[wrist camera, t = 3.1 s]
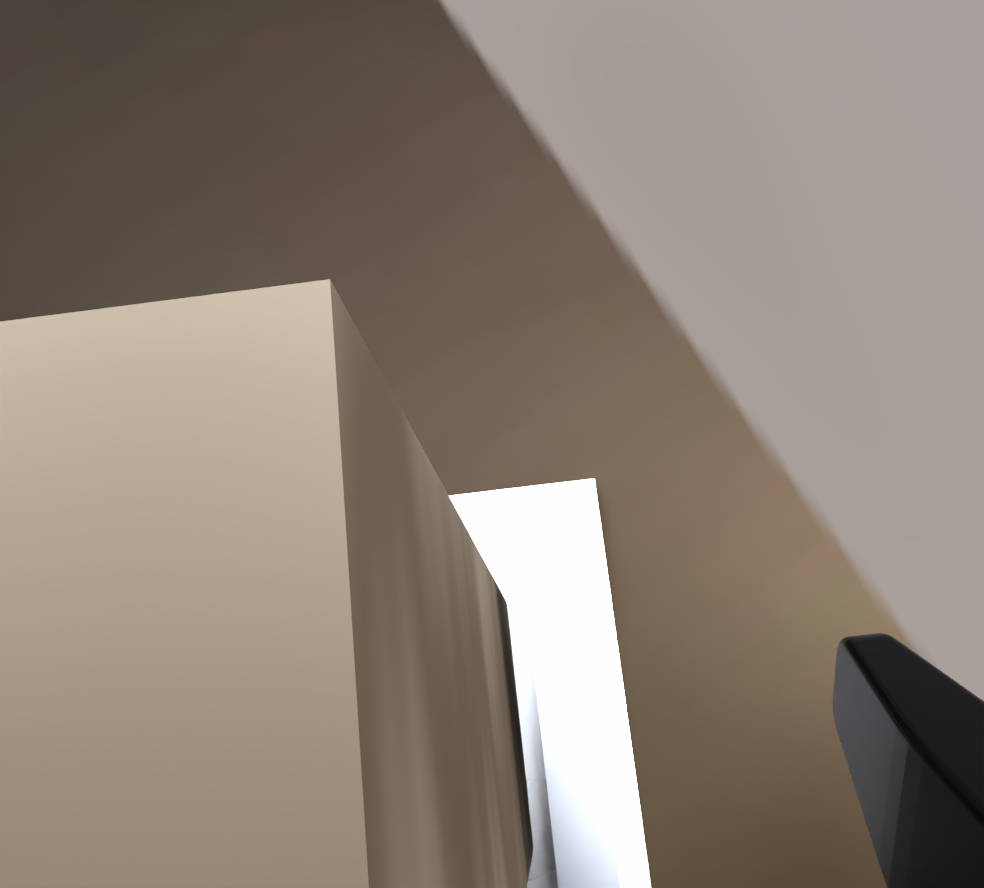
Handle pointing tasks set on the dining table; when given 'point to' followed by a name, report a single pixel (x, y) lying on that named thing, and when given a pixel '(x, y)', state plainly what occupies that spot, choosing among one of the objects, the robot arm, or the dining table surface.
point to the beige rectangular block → (241, 614)
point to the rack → (565, 681)
